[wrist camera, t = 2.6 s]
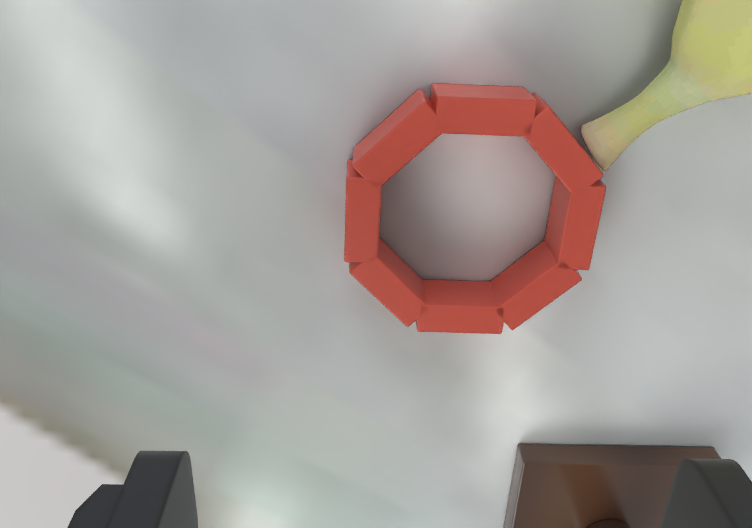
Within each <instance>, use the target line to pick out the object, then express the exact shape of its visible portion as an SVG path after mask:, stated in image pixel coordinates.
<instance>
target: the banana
mask: <svg viewBox="0 0 752 528" xmlns="http://www.w3.org/2000/svg"><path fill="white" fill-rule="evenodd" d="M750 93H752V0H682V3H681V6H680V10H679V14H678V17H677V20H676V24H675V27H674V30H673V35H672V48H671V57H670V60H669V62H668V63H667V65H666V66H665V68H664V69H663V70H662V71H661V72H660V73H659V74H658V75H657V77H656V78H655V79H654V80H653V81H652V82H651V83H650V84H649V85H648V86H647V87H646V88H645V89H644V90H643V91H642V92H641V93H640V94H638V95H637V96H636V97H635V98H633V99H632V100H630V101H629V102H627V103H626V104H624V105H622V106H621V107H619V108H617V109H615V110H613V111H611V112H609V113H607V114H605V115H604V116H602V117H600V118H598V119H595V120H593V121H591V122H588V123H586V124H584V125H583V126H582V127H581V133H582V137H583V139H584V141H585V143H586V145H587V147H588V149H589V151H590V153H591V155H592V156H593V158H594V160H595V161H596V162H597V164H598V165H599V166H600V167H601V168H602V169H603V170H606V169H608V168H609V167H610V166H611V165H612V163H613V162H614V161H615V160H616V159H617V158H618V156H619V155H620V154H621V153H622V152H623V151H624V150H625V149H626V148H627V147H628V146H629V145H630V144H631V143H632V142H633V141H634V140H635V139H636V138H637V137H639V136H640V135H641V134H642V133H643V132H645V131H646V130H647V129H649V128H650V127H652V126H653V125H654V124H656V123H658V122H660V121H661V120H663V119H666V118H668V117H670V116H672V115H675V114H677V113H680V112H682V111H684V110H687V109H689V108H692V107H695V106H697V105H700V104H703V103H706V102H710V101H714V100H718V99H724V98H729V97H735V96H741V95H745V94H750Z"/></svg>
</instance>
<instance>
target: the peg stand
mask: <svg viewBox="0 0 752 528" xmlns="http://www.w3.org/2000/svg"><path fill="white" fill-rule="evenodd" d="M684 459H721V458H720V456H719V455H718V454H717V452H716V451H715V449H714V448H713V447H660V446H598V445H536V444H519V445H518V448H517V454H516V460H515V465H514V471H513V477H512V483H511V488H510V494H509V500H508V506H507V511H506V517H505V523H504V528H660V523H661V520H662V516H663V513H664V510H665V507H666V503H667V500H668V497H669V494H670V490H671V487H672V484H673V480H674V477H675V474H676V471H677V468H678V465H679V464H680V462H681V461H682V460H684Z"/></svg>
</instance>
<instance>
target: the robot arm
mask: <svg viewBox="0 0 752 528" xmlns="http://www.w3.org/2000/svg"><path fill="white" fill-rule="evenodd" d="M68 528H198V518H197V509H196V501H195V493H194V485H193V477H192V468H191V461H190V456H189V453H188V452H187V451H140V452H139V453H138V454H137V455H136V457H135V459H134V461H133V464H132V466H131V468H130V471H129V473H128V475H127V478H126V480H125V483H124V485H109V484H102V485H101V486H100V487H99V488H98V489H97V490H96V491H95V492H94V493H93V494H92V495H91V496H90V497H89V498H88V499H87V500H86V501H85V502H84V503H83V504H82V505H81V506H80V507H79V508H78V509H77V510H76V511H75V513H74V515H73V518H72V520H71V521H70V524H69V526H68ZM660 528H752V482H751V480H750V479H749V477H748V476H747V475H746V473H745V472H744V470H743V469H742V468H741V466H740V465H739V464H738V463H737V462H736V461H734V460H731V459H684V460H682V461H681V462H680V464H679V465H678V468H677V471H676V474H675V477H674V480H673V484H672V487H671V490H670V494H669V497H668V500H667V503H666V507H665V510H664V513H663V516H662V520H661V523H660Z"/></svg>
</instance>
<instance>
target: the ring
mask: <svg viewBox="0 0 752 528" xmlns="http://www.w3.org/2000/svg"><path fill="white" fill-rule="evenodd" d="M442 133H449V134H474V135H500V136H523V137H524V138H525V139H526V140H527V141H528V143H529V144H530V145H531V146H532V147H533V149H534V150H535V151H536V152H537V153H538V154H539V156H540V157H541V158H542V159H543V160H544V162H545V163H546V164H547V165H548V166H549V168H550V169H551V170H552V171H553V172H554V174H555V175H556V176H555V182H554V187H553V193H552V199H551V205H550V210H549V216H548V222H547V228H546V234H545V239H544V241H542V242H541V243H540V244H538V245H537V246H536V247H534V248H533V249H532V250H531V251H529V252H528V253H527V254H525V255H524V256H523V257H521V258H520V259H519V260H517V261H516V262H515V263H514V264H512V265H511V266H510V267H508V268H507V269H506V270H504V271H503V272H502V273H500V274H499V275H498V276H497V277H495V278H494V279H493V280H491V281H490V282H486V281H453V280H422V279H421V278H420V277H419V276H418V275H417V274H416V273H415V272H414V271H413V270H412V269H411V268H410V267H409V266H408V265H407V264H406V263H405V262H404V261H403V260H402V259H401V258H400V257H399V256H398V255H397V254H396V253H395V252H394V251H393V250H392V249H391V248H390V247H389V246H388V245H387V244H386V243H385V242H384V241H383V240H382V239H381V238H380V237H379V231H380V212H381V193H382V185H383V184H384V183H385V182H386V181H388V180H389V179H390V178H391V177H392V176H393V175H394V174H396V173H397V172H398V171H399V170H400V169H401V168H403V167H404V166H405V165H406V164H407V163H408V162H409V161H411V160H412V159H413V158H414V157H415V156H416V155H418V154H419V153H420V152H421V151H422V150H423V149H424V148H426V147H427V146H428V145H429V144H430V143H431V142H433V141H434V140H435V139H436V138H437V137H438V136H439V135H441V134H442ZM601 177H603V173H602V172H601V171H600V169H599V168H598V167H597V166H596V164H595V163H594V162H593V161H592V159H591V158H590V157H589V156H588V154H587V153H586V152H585V151H584V149H583V148H582V147H581V146H580V144H579V143H578V142H577V141H576V139H575V138H574V137H573V136H572V134H571V133H570V132H569V131H568V129H567V128H566V127H565V126H564V124H563V123H562V122H561V121H560V119H559V118H558V117H557V116H556V114H555V113H554V112H553V111H552V109H551V108H550V107H549V106H548V105H547V104H546V103H545V102H544V101H543V100H542V99H541V98H540V97H539V96H538V95H537V94H536V93H533V94H532V95H531V94H530V93H529V92H528V91H527V90H526V89H525V88H524V87H514V86H490V85H466V84H441V83H432V85H431V97H430V98H429V97H428V96H427V95H426V94H425V92H424V91H423V90H422V89H418V90H417V91H416V92H415V93H414V94H412V95H411V96H410V97H409V98H408V99H407V100H406V101H405V102H404V103H403V104H401V105H400V106H399V107H398V108H397V109H396V110H395V111H394V112H393V113H391V114H390V115H389V116H388V117H387V118H386V119H385V120H384V121H383V122H382V123H380V124H379V125H378V126H377V127H376V128H375V129H374V130H373V131H372V132H370V133H369V134H368V135H367V136H366V137H365V138H364V139H363V140H362V141H360V142H359V143H358V144H357V145H356V146H355V147H354V148H353V160H352V159H350V160H348V161H347V176H346V210H345V247H344V260H345V262H350V265H349V272H350V274H351V275H352V276H353V277H354V278H356V279H357V280H358V281H359V282H360V283H361V284H362V285H363V286H364V287H365V288H366V289H367V290H368V291H369V292H370V293H371V294H373V295H374V296H375V297H376V298H377V299H378V300H379V301H380V302H381V303H382V304H383V305H384V306H385V307H386V308H387V309H388V310H390V311H391V312H392V313H393V314H394V315H395V316H396V317H397V318H398V319H399V320H400V321H401V322H402V323H403V324H404V325H405V326H407V327H408V326H410V325H411V324H412V323H413V322H415V321H416V325H417V331H418V332H452V333H489V334H501V333H502V328H503V322H505V323H506V324H507V325H508V326H509V328H510V329H512V330H514V329H515V328H516V327H518V326H519V325H521V324H522V323H523V322H525V321H526V320H527V319H529V318H530V317H532V316H533V315H534V314H536V313H537V312H538V311H540V310H541V309H543V308H544V307H545V306H547V305H548V304H549V303H551V302H552V301H554V300H555V299H556V298H558V297H559V296H560V295H562V294H563V293H565V292H566V291H567V290H569V289H570V288H571V287H573V286H574V285H576V284H577V283H578V282H580V281H581V280H582V278H581V276H580V275H579V273H578V271H577V270H589V267H590V262H591V258H592V253H593V248H594V243H595V239H596V234H597V229H598V224H599V220H600V215H601V210H602V205H603V201H604V196H605V191H606V186H605V185H604V184H603V183H602V182H601V181H600V178H601Z"/></svg>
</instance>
